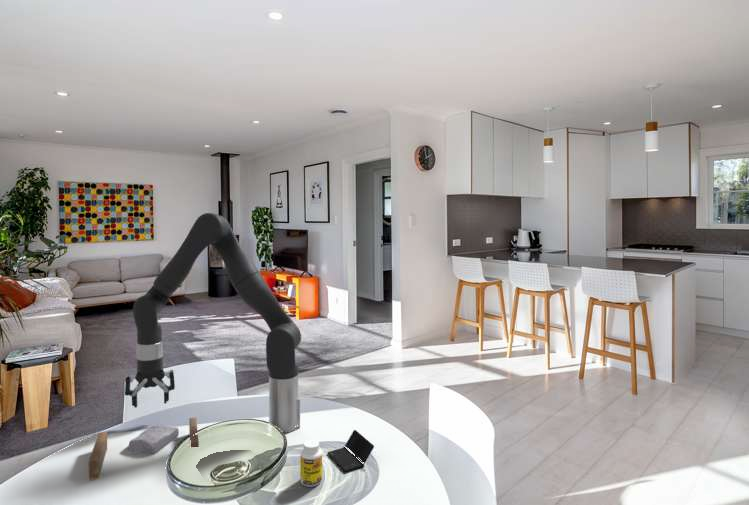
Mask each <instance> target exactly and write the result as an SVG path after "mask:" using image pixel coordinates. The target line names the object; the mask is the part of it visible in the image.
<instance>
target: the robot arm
mask: <svg viewBox="0 0 749 505" xmlns="http://www.w3.org/2000/svg"><path fill="white" fill-rule="evenodd" d="M210 245H211V246H213V248H214V249H215V251H216V252H217V253H218V255H219V256H220V258H221V259H222V261H223V264H224V266H225V267H224V268H225V270H226V274H227V276H228V279H229V281H230V284H231V285H232V287H233V288H234V290H235V292H236V294H238V296H239V298H240V300H242V301H243V302H244V303H245V304H246V305H247V306H248V307H250V309H252V310H253V311H254V312H256V313H257V314H258V315H260V317H261V318H262V319H263V320H264V322H265V323H266V324H267V326H268V328H269V329H270V331H269V333H268V334H267V336H266V339H265V340H266V342H265V354H266V355H265V357H266V359H265V360H266V368H267V369H268V370H267V371H268V403H269V404H268V413H269V414H268V415H269V416H268V424H269V423H271V424H273V425H275V426H277V427H278V428H280V429H281V430H282V431H283V432H284V433H283V434H285V433H290V432H293V431H294V430H297V429H300V428H301V399H300V397H299V365H298V363H296V348H297V347H299V345H300V344H301V341H302V333H301V331H300V329H299V327H298V326H297V324H296V323H295V322H294V321H293V320H292V318H291V317H290V316H289V315H288V313H287V312H286V311H285V310H284V308H283V307H282V306H281V304H280V303H279V301H278V299H277V298H276V296H275V294H274V293H273V291H272V290H271V288H270V287H269V285H268V284H267V282H266V280H265V278H264V277H263V276H262V274H261V272H260V271H259V270H258V268H257V267H256V265H255V264H254V262H253V261H252V260H251V258H250V256H248V254H247V252H246V251H245V250H244V248H243V247H242V246H241V244H240V242H239V240H238V238H237V236H236V234H235V233H234V230H233V229H232V227H231V224H230V222H229V221H228V220H227V219H226V218H225V217H224V216H222V215H219V214H216V213H213V212H207V213H202V214H201V215H199V216H198V217H197V219H196V220H195V221H194V223H193V224H192V226H191V228H190V230H189V232H188V234H187V235H186V237H185V239H184V241H183V242H182V243H181V245H180V246H179V248H178V250H177V251H176V252H175V254H174V255H173V256H172V258H171V259H170V260H169V261H168V263H167V265H165V267H164V268H163V269H162V270H161V272H160V273H159V274H158V275H157V276H156V278H155V279H154V281H153V285H152V286H151V287H150V288H149V289H148V291H147V292H146V293H145V294H144V295H142V296H140V297H138V298H137V299H136V300H135V301H134V303H133V306H132V307H133V308H132V313H133V319H134V324H135V327H136V329H137V330H136V332H137V333H136V336H137V338H136V339H137V341H136V343H137V344H136V354H135V355H136V374H134V375H132V374H127V375H126V376H125V382H124V383H125V386H124V388H125V389H124V395H125V396H130V397H131V406H133V407H134V408H137V407H138V393H139V392H140V391H141V390H142V388H145V389H148V388H156V387H159V388H160V389H161V390H162V391H163V404H167V403H168V402H169V400H170V391H174V390H175V388H176V386H175V373H174V372H175V371H174V370H173V369H170V370H168V371H164V349H163V348H164V347H163V341H162V340H163V337H162V336H163V335H162V334H163V333H162V332H163V331H162V326H161V324H160V323H159V322H158V313H160V312H161V311H162V310H163V308H165V306H166V305H167V303H168V302H169V300H170V299H171V297H172V295H173V294H174V293H175V292H176V291H177V290H178V288H179V287H180V286H181V285H182V284H183V282H184V281H185V279H186V278H187V277H188V275H189V274H190V272H191V270H192V269H193V266H194V264H195V262H196V260H197V259H198V257H199V256H200V255H201V253H202V252H204V250H205V249H206V248H208V246H210ZM165 377H166V378H167V379H169V385H167V384H166V383H165V381H164V380H163V379H164V378H165ZM134 380H135V381H136V383H137V384H136V385H135V387H134V389H131V384H133V381H134ZM297 425H298V426H297ZM295 426H296V427H295Z"/></svg>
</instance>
